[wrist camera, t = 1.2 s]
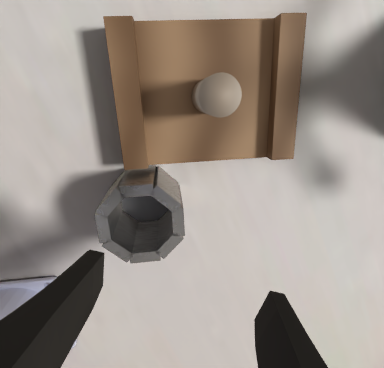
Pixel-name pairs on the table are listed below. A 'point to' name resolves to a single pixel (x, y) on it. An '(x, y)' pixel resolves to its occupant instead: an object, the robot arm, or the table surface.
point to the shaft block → (205, 87)
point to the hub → (141, 231)
